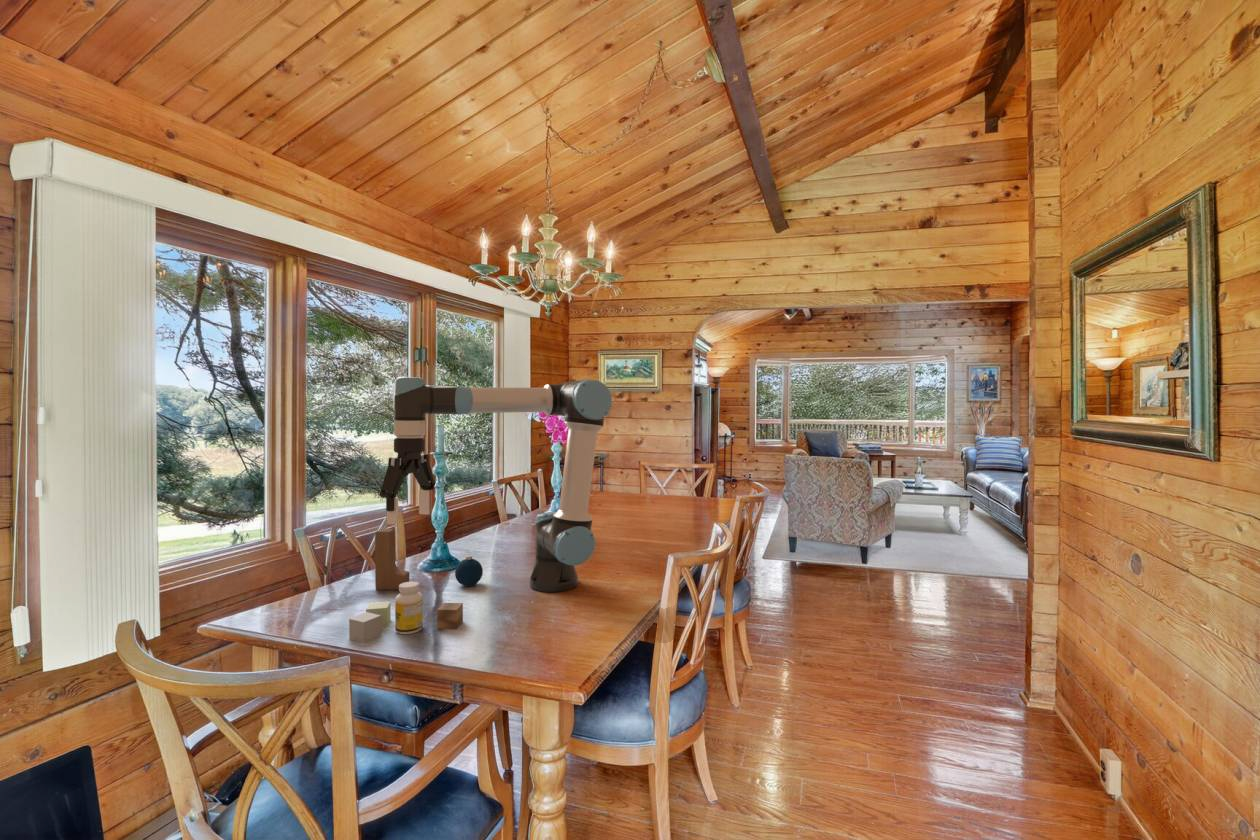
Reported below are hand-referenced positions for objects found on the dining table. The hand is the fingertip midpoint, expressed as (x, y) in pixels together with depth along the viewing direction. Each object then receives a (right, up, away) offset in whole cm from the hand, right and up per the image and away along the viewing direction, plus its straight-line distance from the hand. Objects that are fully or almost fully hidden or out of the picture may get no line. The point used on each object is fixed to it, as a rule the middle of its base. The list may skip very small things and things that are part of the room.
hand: (409, 519), depth 147 cm
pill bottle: (+2, -28, -4) cm, 28 cm away
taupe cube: (-7, -27, -8) cm, 30 cm away
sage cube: (-8, -27, 0) cm, 28 cm away
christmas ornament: (+7, -27, +32) cm, 42 cm away
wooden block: (-16, -27, +29) cm, 43 cm away
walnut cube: (+11, -27, -1) cm, 29 cm away
